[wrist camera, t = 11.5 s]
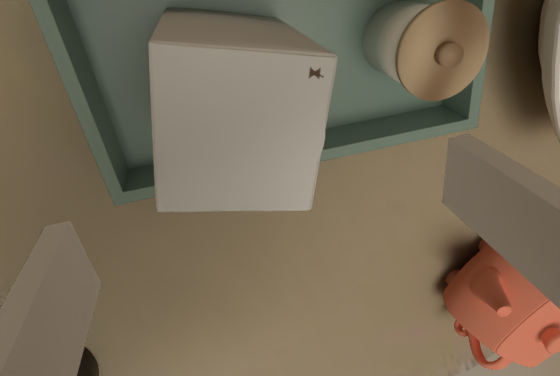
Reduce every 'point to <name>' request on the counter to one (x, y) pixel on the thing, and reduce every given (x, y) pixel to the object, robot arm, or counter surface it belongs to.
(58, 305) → the robot arm
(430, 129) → the tray
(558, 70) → the bowl
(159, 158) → the supplement box
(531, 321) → the teapot
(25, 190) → the counter surface
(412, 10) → the jar
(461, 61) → the lid
